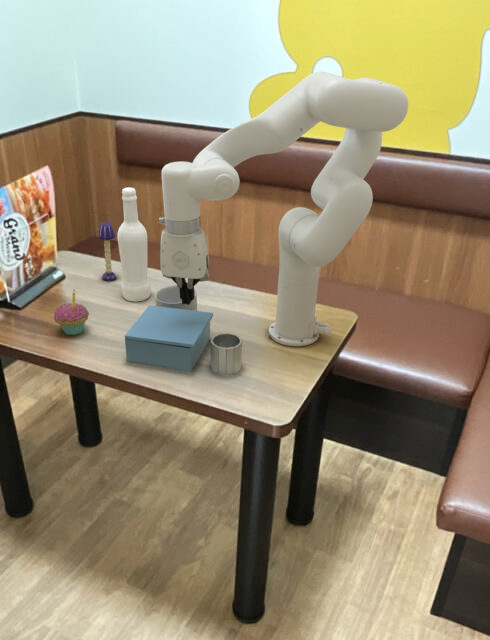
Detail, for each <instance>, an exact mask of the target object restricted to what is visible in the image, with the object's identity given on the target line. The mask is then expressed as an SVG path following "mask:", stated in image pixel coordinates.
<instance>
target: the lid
mask: <svg viewBox="0 0 490 640" xmlns="http://www.w3.org/2000/svg"><path fill="white" fill-rule="evenodd" d="M213 317H214V312H209V311H202V310H197V311H193V310H184V309H176V308H167V307H159V306H156V305H148V306H147V308H146V309H145V310H144V311H143V312H142V314H141V315H140V316H139V317H138V318H137V320H136V321H134V324H132V326H131V327H130V328H129V330H128V331H127V332H126V333H125V334H124V340H125V339H132V340H140V341H147V342H155V343H163V344H170V345H178V346H185V347H193V348H194V346H195V345H196V343H197V341H198V340H199V338H200V336H201V335H202V333H203V331H204V330H205V328H206V327H207V325H208V323H209V322H210V323H211V320H212V318H213Z"/></svg>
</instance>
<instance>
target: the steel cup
mask: <svg viewBox="0 0 490 640" xmlns="http://www.w3.org/2000/svg"><path fill="white" fill-rule="evenodd" d="M242 354H243V339H242V337H241V336H239V335H237V334H234V333H230V332H222V333H218V334H216V335H215V334H214V335H213V336H212V337H211V338H210V368H211V370H212V371H213V372H214V373H217V374H220V375H233V374H236V373H237V372H240V370H241V369H242V359H243V358H242V357H243V355H242Z"/></svg>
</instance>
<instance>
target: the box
mask: <svg viewBox="0 0 490 640" xmlns="http://www.w3.org/2000/svg"><path fill="white" fill-rule="evenodd" d="M209 341H211V321H210V322H209V323H208V325H207V327H206V328H205V330H204V331H203V333H202V335H201V336H200V338H199V340H198V341H197V343H196V345H195V346H194V348H193V347H185V346H178V345H170V344H163V343H155V342H147V341H140V340H132V339H125V338H124V345H125V355H126V362H128V363H134V364H139V365H145V366H146V365H147V366H152V367H159V368H165V369H171V370H176V371H183V372H190V373H191V372H192V371H193V369H194V367H195V365H196V363H197V362H198V360H199V359H200V357H201V355H202V353H203V352H204V350H205V348H206V347H207V345H208V343H209Z"/></svg>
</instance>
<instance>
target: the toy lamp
mask: <svg viewBox="0 0 490 640" xmlns="http://www.w3.org/2000/svg"><path fill="white" fill-rule="evenodd" d="M115 237H116V234H115V231H114V228H113V225H112V223H111V222H108V221H104V222H101V223H100V226H99V231H98V239H100V240H101V241H103V242H104V243H103V247H104V250H103V251H104V258H105V259H104V263H105V264H104V265H105V272H103V274H102V276H101V279H102V280H103V281H105V282H112V281H115V280H116V279H118V278H117V274H116V273H115V272H113V269H112V258H111V257H112V253H111V241H112V240H114V239H115Z"/></svg>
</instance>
